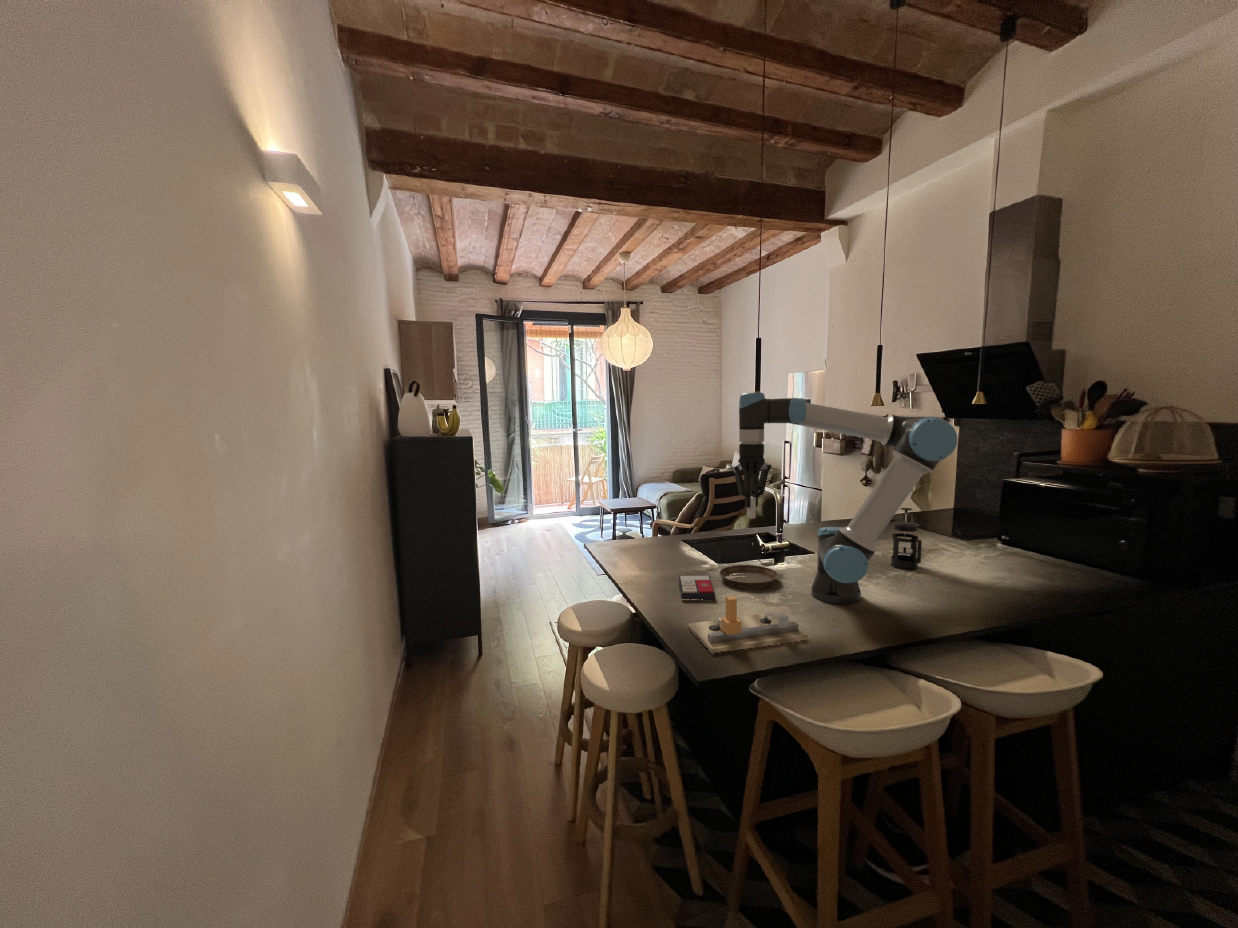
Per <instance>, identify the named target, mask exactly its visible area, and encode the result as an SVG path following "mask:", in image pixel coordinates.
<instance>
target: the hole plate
mask: <svg viewBox="0 0 1238 928" xmlns="http://www.w3.org/2000/svg"><path fill="white" fill-rule="evenodd" d="M770 613H771V614H772V615H773V613H777V612H776V611H774V612H770ZM764 614H765V613H759V614H751V615H744V616H737V618H738V619H739V620H740V621H741V629H744V628H752V627H759V626H766V625H773V624H772V620H771V619H769V618H768V620H764ZM688 627H689V628H690V630H691V631H692V632H693V633H694V634H695V635H696V636H697V637H698V639H700V641H701V642H702V643H703V644H704V645H705V647H707V648H708V650H709V651H710V652H711V653H714V652H720V651H731V650H738V649H744V648H749V647H759V648H761V647H760V646H765V645H770V644H777V643H785V644H788V643H787V642H791V643H794V642H793V641H798V642H801V641H800V640H805V641H807V640H808V634H807V633H805V632H804V631H802V630H801V629H800V628H799V631H798V632H791V633H784V634H777V635H770V636H764V637H757V638H750V639H743V640H736V641H729V642H723V643H716V644H710V643H709V642H708V634H709V633H716V632H723V630H722V629H721V626H717V619H715V620H707V621H706V620H705V621H699V622H692V623H688V624H687V628H688ZM690 630H689V631H690ZM698 639H697V640H698ZM700 641H699V642H700ZM705 647H704V648H705ZM765 647H766V646H765ZM708 650H707V651H708ZM709 651H708V652H709Z"/></svg>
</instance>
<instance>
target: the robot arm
mask: <svg viewBox="0 0 1238 928" xmlns="http://www.w3.org/2000/svg"><path fill="white" fill-rule="evenodd" d="M738 419H739V420H738V421H739V422H738V423H739V424H738V425H739V427H738V429H739V430H738V432H739V433H738V438H739V439H738V440H739V442H740V443H739V445H738V452H739V453H738V455H739V458H738V461H737V463H736V464H735V465H732V466H731V467H730V468H731V470H732V472H733V473H734V479H735V483H736V487H737V491H738V495H740V496H742V497H744V507H745V508H746V518H748V519H751V520H752V519H756V513H757V511H756V509H757V507H758V506H759V498H760V497H761V496H763V495H764V494H765V490H766V485H767V481H768V476H769V473H770V471H771V468H772V465H771V464H770V463H767V462H766V461H765V458H764V456H765V444H764V441H765V424H790V425H791V424H792V425H797V426H802V427H807V428H813V429H818V430H822V431H828V432H832V433H837V434H842V435H847V436H852V437H858V438H863V439H868V440H872V441H877V442H878V441H879V442H880V443H881V445H883V446H887V447H891V448H893V449H892V450H891V451H892V456H893V458H892V461H891V462H890V463H889V465H888V467H887V468H886V469H885V471H884V472H883V473H882V474H881V477H880V478H879V480H878V481H877V482H876V484H875V485H874V487H873V488H872V490H871V491H870V493H869V494H868V495H867V497H866V498H865V500H864V501H863V503H862V504H861V506H860V507H859V508H858V510H857V511H856V513H855V515H854V516H853V517H852V519H851V520H850V521H849V524H848V525H847V526H844V527H840V526H839V527H838V526H824V527H820V528H819V529H818V530H817V531H818V532H817V535H816V536H817V566H816V567H817V568H816V573H815V576H814V579H813V583H812V585H811V595H812V596H813V597H814V598H815V599H817V600H820V601H822V602H825V603H830V604H838V605H852V604H857V603H858V602H860V601H861V599H862V591H861V589H860V586H859V585H860V584H859V581H860V580H862V579H863V578H864V577H865V576H866V574H867V573H868V570H869V569H868V568H869V561H870V560H871V559H872V558H873V556H874V555H875V553H876V551H877V549H876V545H875V544H876V542H877V540H878V539H879V537H880V536H881V534H882V533H883V532H884V530H885V529H886V527H888V525H889V524H890V523H891V522H890V521H892V519H893V518H894V516H895V515H896V513H898V511H899V510H900V508H901V506H902V504H903V503H904V502H905V500H906V499H908V496H909V495H910V493H911V492H912V491H913V489H914V488H915V486H916V485H917V483H918V482H919V481H920V479H921V478H922V477H923V475H925V474H928V473H933V471H934V470H935V468H936V467H937V466H938V464H939V463H940V462H941V461H942V460H945V459H947V458H948V457H950V456H951V454H953V452H954V451H955V450H956V448H957V445H958V435H957V431H956V429H955V428H954V426H953V425H952V424H951V423H950V422H948V421H947V420H945V419H941V418H939V417H937V416H901V415H894V414H890V415H888V416H879V415H875V414H870V413H865V412H860V411H859V412H858V411H853V410H848V409H842V408H837V407H832V406H825V405H820V404H815V403H809V402H807V400H806V399H805V398H803V397H799V398H798V397H788V398H766V397H765V393H764V392H743V393H741V394H740V395H739V407H738ZM741 471H743V472H741Z"/></svg>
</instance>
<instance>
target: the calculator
mask: <svg viewBox="0 0 1238 928" xmlns="http://www.w3.org/2000/svg"><path fill="white" fill-rule="evenodd" d="M679 587H680V589H679V593H681V594H680V599H681V598H682V599H690V600H691V599H697V600H698V599H699V600H701V599H703V600H715V601H716V592H715V589H714V586H713V582H712V580H711V577H710V576H709V575H680V576H678V588H679Z"/></svg>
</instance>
